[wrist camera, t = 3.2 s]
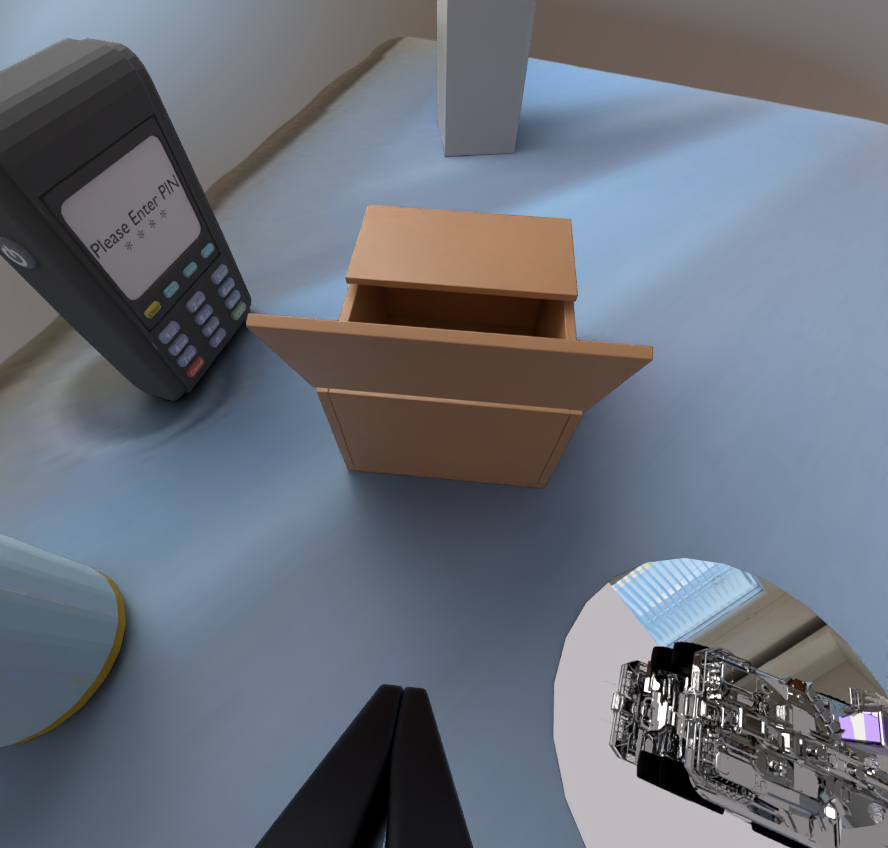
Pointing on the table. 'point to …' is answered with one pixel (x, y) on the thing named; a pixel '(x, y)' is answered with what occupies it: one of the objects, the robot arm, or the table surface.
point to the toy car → (717, 718)
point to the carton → (465, 309)
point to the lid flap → (450, 362)
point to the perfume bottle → (481, 73)
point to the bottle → (52, 638)
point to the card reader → (114, 215)
